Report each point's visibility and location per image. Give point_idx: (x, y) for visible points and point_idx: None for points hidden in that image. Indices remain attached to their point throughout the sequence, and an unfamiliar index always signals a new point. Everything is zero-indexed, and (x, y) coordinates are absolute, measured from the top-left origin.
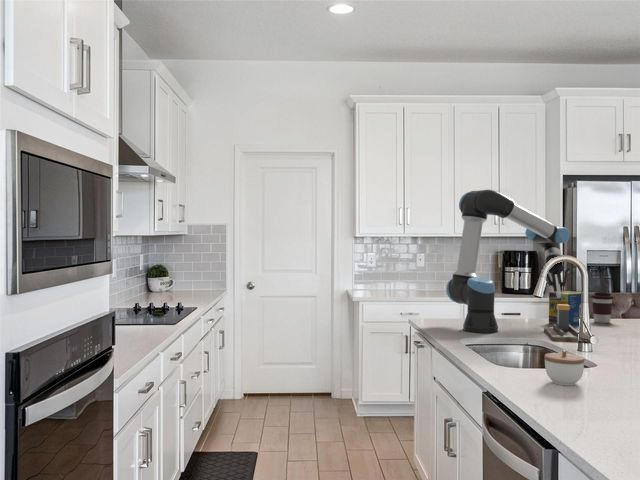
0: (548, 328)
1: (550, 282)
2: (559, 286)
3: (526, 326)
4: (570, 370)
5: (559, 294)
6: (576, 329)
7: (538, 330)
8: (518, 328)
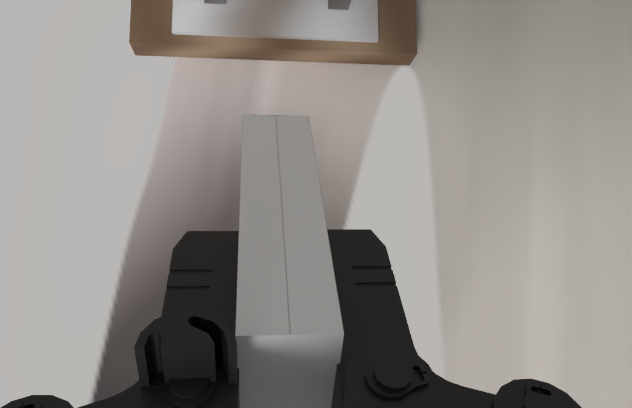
0: (386, 3)
1: (534, 382)
2: (251, 256)
3: (539, 277)
4: None
5: (275, 118)
6: (147, 4)
7: (452, 72)
8: (606, 137)
